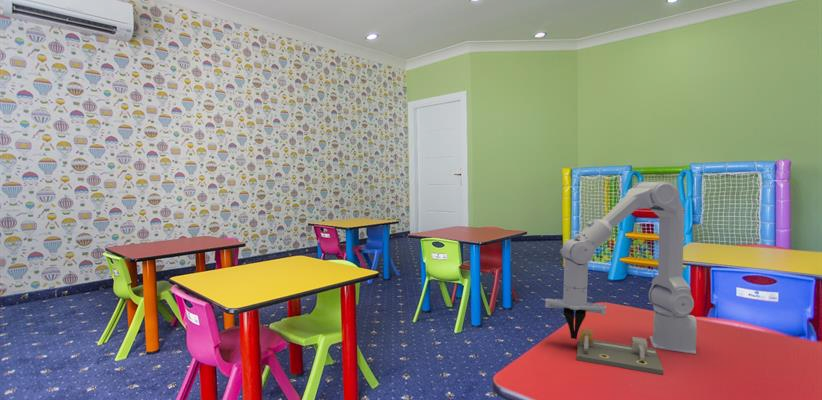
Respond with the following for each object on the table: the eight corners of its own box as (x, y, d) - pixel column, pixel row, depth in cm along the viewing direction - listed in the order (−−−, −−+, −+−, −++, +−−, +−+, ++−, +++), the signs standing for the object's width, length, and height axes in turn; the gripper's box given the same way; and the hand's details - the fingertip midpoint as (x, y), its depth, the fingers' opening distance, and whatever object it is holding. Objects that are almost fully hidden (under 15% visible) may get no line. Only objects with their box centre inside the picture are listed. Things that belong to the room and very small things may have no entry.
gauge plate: (655, 352, 104) (655, 345, 104) (663, 374, 92) (663, 366, 92) (578, 341, 111) (578, 334, 111) (576, 359, 99) (576, 352, 99)
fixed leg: (645, 350, 102) (645, 338, 102) (649, 363, 95) (650, 350, 95) (631, 348, 104) (632, 336, 103) (634, 360, 96) (635, 348, 96)
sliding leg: (592, 342, 107) (593, 330, 107) (592, 353, 100) (593, 340, 100) (580, 340, 108) (580, 328, 108) (579, 351, 101) (579, 338, 101)
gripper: (544, 286, 106) (543, 338, 107) (606, 293, 100) (605, 347, 101) (547, 280, 113) (546, 329, 113) (605, 286, 107) (604, 337, 107)
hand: (573, 337), depth 108 cm, fingers closed
